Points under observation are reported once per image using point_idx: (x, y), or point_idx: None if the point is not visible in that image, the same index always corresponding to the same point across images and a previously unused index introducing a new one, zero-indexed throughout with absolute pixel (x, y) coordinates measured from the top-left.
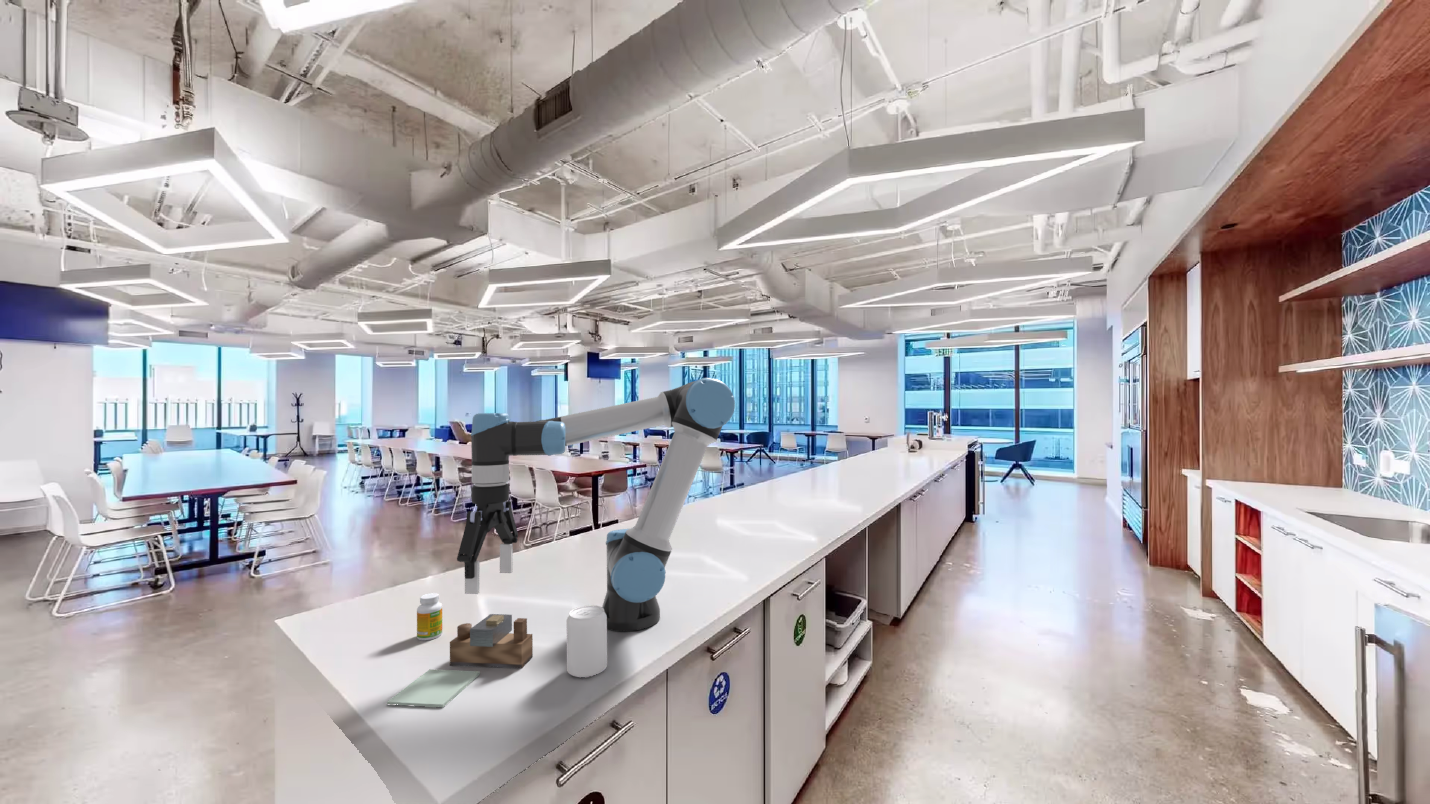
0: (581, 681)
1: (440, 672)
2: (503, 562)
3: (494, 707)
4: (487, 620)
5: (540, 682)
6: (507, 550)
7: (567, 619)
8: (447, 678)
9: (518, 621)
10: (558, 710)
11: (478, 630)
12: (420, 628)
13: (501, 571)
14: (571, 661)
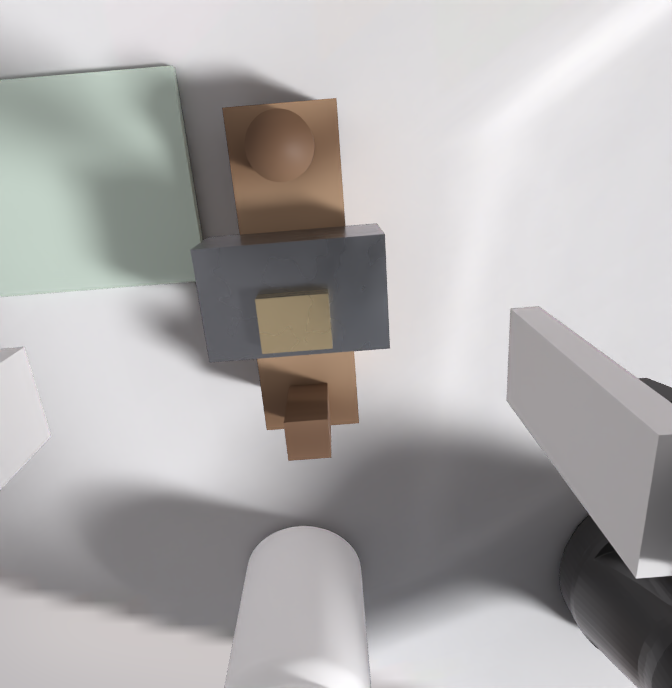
0: (243, 574)
1: (161, 134)
2: (544, 377)
3: (62, 432)
4: (257, 306)
5: (212, 482)
6: (603, 484)
7: (254, 676)
8: (133, 195)
9: (292, 440)
10: (105, 579)
11: (199, 292)
12: None
13: (514, 328)
14: (245, 583)
